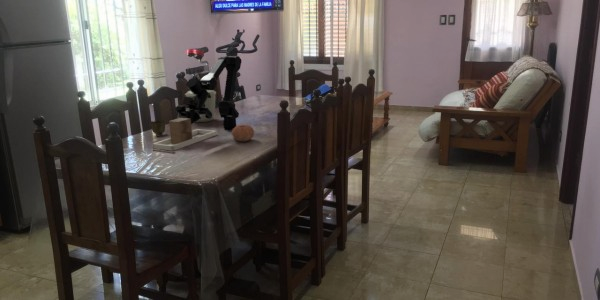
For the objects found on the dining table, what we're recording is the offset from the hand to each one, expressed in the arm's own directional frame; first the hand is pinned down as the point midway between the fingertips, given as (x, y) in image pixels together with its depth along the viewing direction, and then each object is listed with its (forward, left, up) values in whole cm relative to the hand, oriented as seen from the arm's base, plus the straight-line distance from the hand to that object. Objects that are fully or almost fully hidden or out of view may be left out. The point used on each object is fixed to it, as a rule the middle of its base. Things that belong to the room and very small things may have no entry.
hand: (186, 126), depth 227 cm
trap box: (+1, +1, -8) cm, 8 cm away
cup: (+15, -21, -9) cm, 27 cm away
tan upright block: (+3, +3, -7) cm, 8 cm away
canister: (-8, -55, -9) cm, 56 cm away
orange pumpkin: (-26, +3, -9) cm, 28 cm away
